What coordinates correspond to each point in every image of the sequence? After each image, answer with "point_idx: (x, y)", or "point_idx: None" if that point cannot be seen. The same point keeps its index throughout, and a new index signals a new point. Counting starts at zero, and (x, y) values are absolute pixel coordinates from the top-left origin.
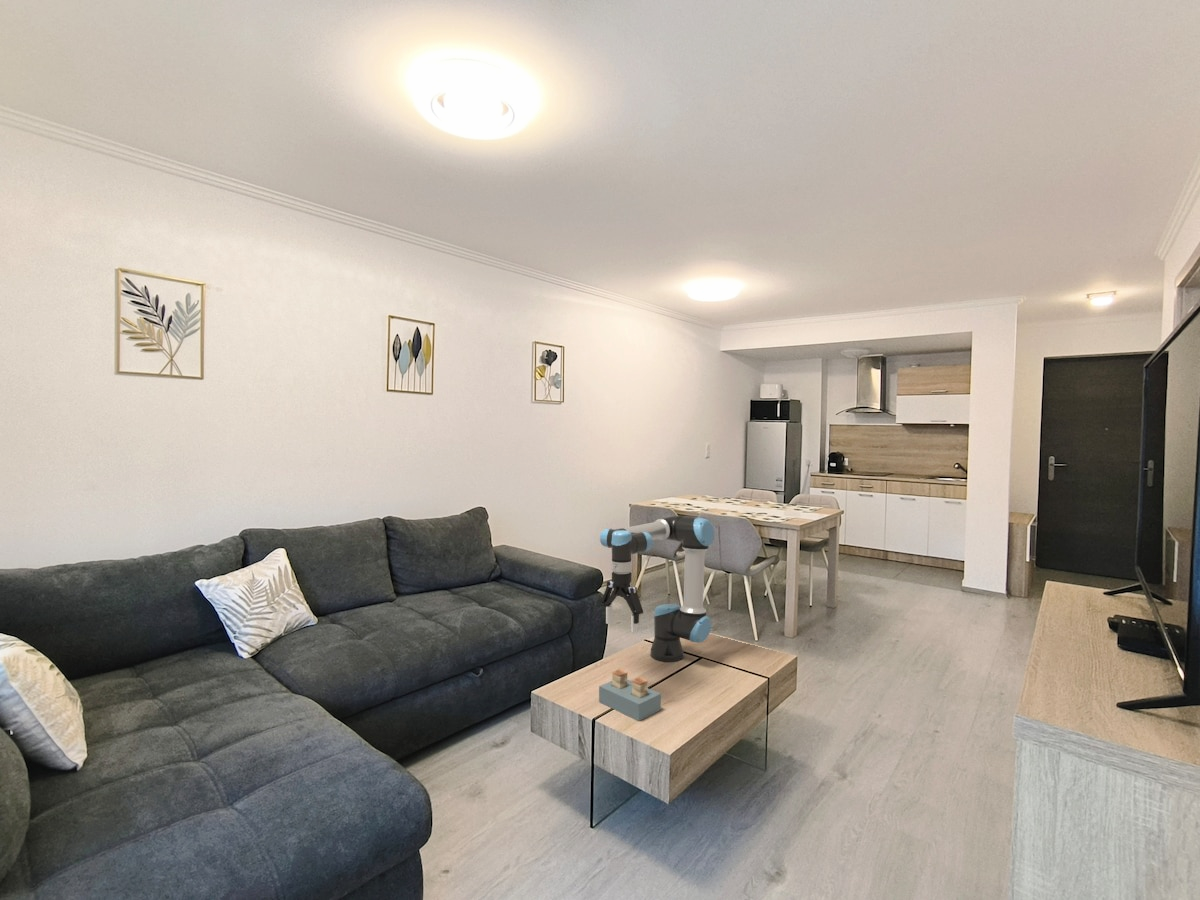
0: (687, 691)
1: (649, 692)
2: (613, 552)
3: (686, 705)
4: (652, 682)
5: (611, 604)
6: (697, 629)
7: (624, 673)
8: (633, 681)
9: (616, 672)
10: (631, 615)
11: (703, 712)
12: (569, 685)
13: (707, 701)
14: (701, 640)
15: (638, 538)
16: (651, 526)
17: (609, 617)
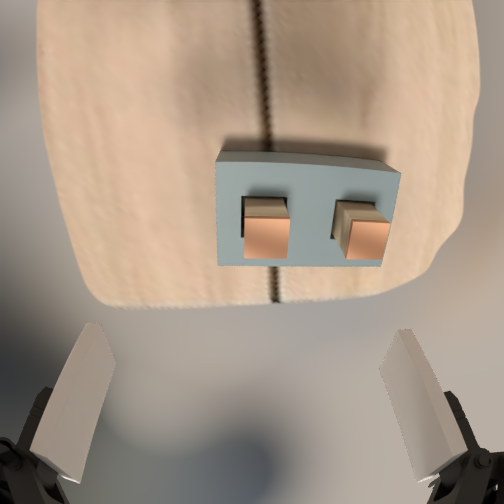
0: (366, 10)
1: (370, 189)
2: None
3: (413, 91)
4: (241, 21)
5: (19, 450)
6: None
7: (288, 235)
8: (352, 258)
9: (257, 249)
10: (417, 478)
11: (455, 103)
12: (91, 229)
13: (435, 41)
14: None
15: None
16: None
17: (96, 387)
